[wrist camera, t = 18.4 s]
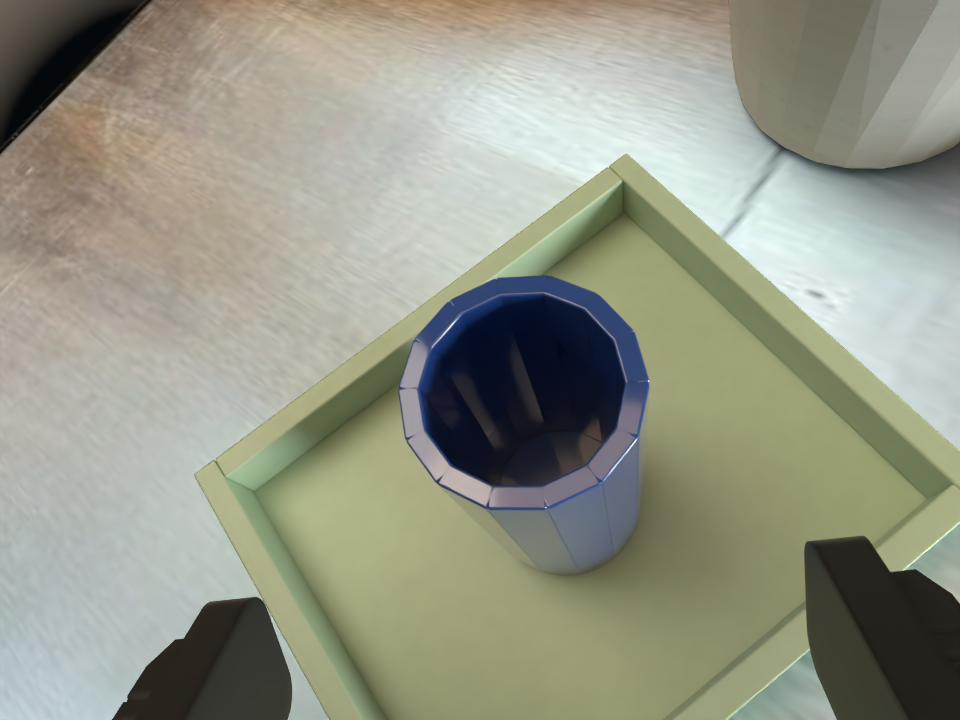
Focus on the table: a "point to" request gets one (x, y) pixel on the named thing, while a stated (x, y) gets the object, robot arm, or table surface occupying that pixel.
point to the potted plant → (851, 77)
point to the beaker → (533, 418)
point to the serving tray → (664, 513)
